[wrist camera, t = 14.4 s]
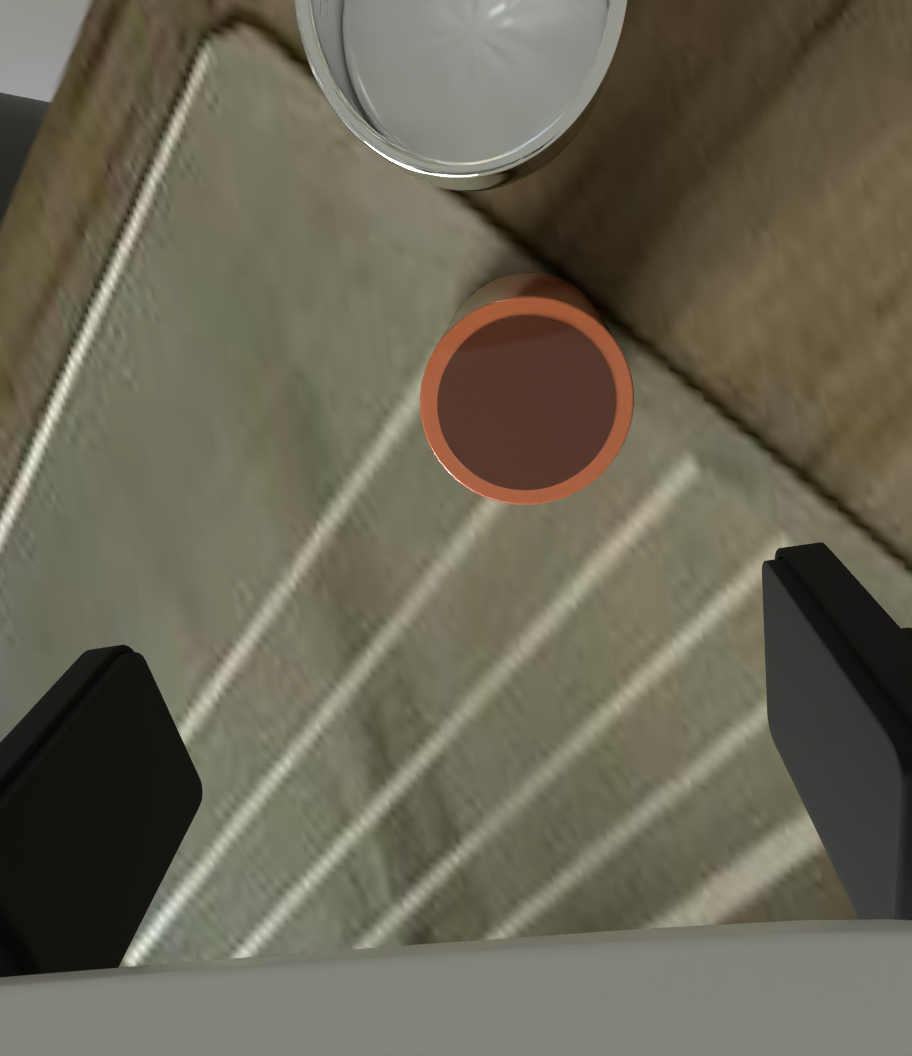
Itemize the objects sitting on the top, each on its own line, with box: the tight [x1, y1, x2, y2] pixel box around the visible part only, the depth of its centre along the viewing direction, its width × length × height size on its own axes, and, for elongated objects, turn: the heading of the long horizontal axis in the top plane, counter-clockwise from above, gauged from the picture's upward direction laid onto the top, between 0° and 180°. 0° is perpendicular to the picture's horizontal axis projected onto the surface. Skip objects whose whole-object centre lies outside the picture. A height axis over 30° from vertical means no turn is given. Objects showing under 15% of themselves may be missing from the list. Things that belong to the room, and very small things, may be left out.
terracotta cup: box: [420, 272, 634, 505], centre depth 28 cm, size 7×7×8 cm
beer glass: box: [294, 0, 628, 191], centre depth 21 cm, size 7×7×15 cm
